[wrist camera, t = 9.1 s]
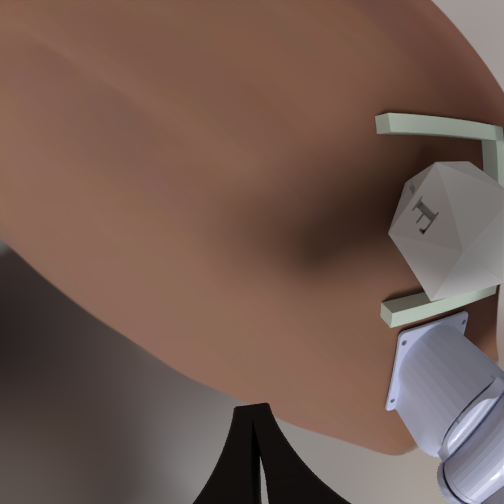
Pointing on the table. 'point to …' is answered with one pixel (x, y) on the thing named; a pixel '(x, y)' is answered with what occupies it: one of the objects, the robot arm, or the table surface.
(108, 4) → the table surface
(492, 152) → the bay
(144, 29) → the table surface
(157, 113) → the table surface
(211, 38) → the table surface
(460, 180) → the die
